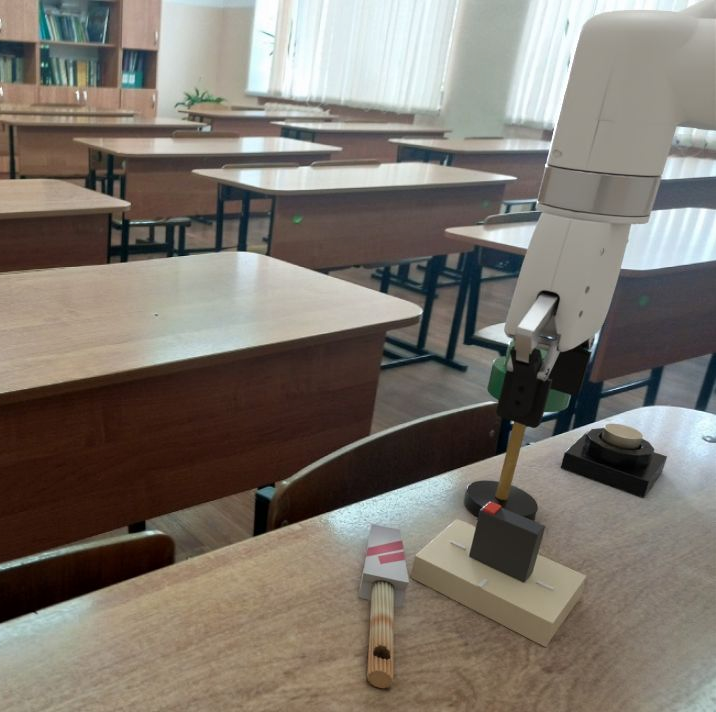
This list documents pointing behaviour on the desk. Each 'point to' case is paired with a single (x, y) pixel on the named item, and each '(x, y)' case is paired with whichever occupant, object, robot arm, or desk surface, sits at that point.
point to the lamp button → (621, 436)
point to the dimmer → (499, 585)
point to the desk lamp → (509, 454)
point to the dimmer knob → (506, 541)
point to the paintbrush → (383, 598)
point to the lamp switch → (614, 463)
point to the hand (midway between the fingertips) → (539, 404)
